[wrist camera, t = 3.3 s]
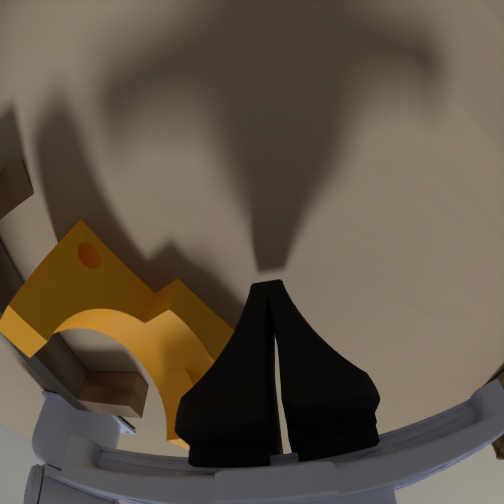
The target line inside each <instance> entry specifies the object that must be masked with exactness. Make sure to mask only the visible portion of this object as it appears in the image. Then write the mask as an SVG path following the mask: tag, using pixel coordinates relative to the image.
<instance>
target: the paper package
mask: <svg viewBox="0 0 504 504" xmlns="http://www.w3.org/2000/svg"><path fill="white" fill-rule="evenodd" d="M495 379H498V380H499V382H500V384H501V386H502V388H503V390H504V370H503V371H502V372H501V373H500V374H499V375H498V376H497V377H496V378H495ZM495 379H494V380H495ZM492 381H493V380H492ZM491 444H492V446H493V448H494V451H495V453H496V458H497V459H499V460H504V434H502V435H501V436H500V437H498V438H497V439H496V440H495V441H493V442H492V443H491Z"/></svg>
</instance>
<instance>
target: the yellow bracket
mask: <svg viewBox="0 0 504 504" xmlns="http://www.w3.org/2000/svg"><path fill="white" fill-rule="evenodd" d="M71 328H85V329H91V330H95V331H98V332H101V333H103V334H106V335H108V336H110V337H112V338H114V339H115V340H117V341H118V342H120V343H121V344H122V345H124V346H125V347H126V348H127V349H129V350H130V351H131V352H132V353H133V354H134V355H135V356H136V357H137V358H138V359H139V361H140V362H141V363H142V364H143V366H144V367H145V368H146V370H147V371H148V373H149V374H150V376H151V377H152V379H153V381H154V383H155V385H156V387H157V389H158V391H159V394H160V396H161V399H162V402H163V406H164V410H165V415H166V422H167V439H166V441H168V442H171V443H173V444H175V445H178V446H180V447H183V448H186V449H188V450H189V447H190V446H189V445H188V444H187V443H185V442H184V441H183V440H182V439H181V438H180V437H179V436H178V435H177V434H176V433H175V429H174V428H175V420H176V413H177V409H178V406H179V402H180V399H181V397H182V396H183V395H184V394H185V393H187V392H188V391H189V390H190V389H191V388H192V387H193V386H194V385H195V384H196V383H197V382H198V381H199V380H200V379H201V378H202V376H203V375H204V374H205V373H206V372H207V371H208V369H209V368H210V367H211V366H212V365H213V363H214V362H215V361H216V359H217V358H218V356H219V355H220V354H221V352H222V351H223V349H224V348H225V346H226V344H227V343H228V341H229V339H230V338H231V336H232V334H233V332H234V329H233V328H232V327H230V326H229V325H228V324H227V323H226V322H225V321H224V320H223V319H221V318H220V317H219V316H218V315H217V314H216V313H215V312H214V311H213V310H211V309H210V308H209V307H208V306H207V305H206V304H205V303H204V302H203V301H202V300H201V299H200V298H198V297H197V296H196V295H195V294H194V293H193V292H192V291H191V290H190V289H189V288H188V287H187V286H186V285H185V284H184V283H183V282H182V281H181V280H180V279H176V280H174V281H173V282H171V283H170V284H168V285H167V286H165V287H164V288H162V289H161V290H159V291H158V292H156V293H155V292H154V291H153V290H152V289H150V288H149V287H148V286H147V285H146V284H145V283H144V282H143V281H142V280H141V279H140V278H139V277H138V276H137V275H136V274H134V273H133V272H132V271H131V270H130V269H129V268H128V267H127V266H126V265H125V264H124V263H123V262H122V261H121V260H120V259H119V258H118V257H117V256H116V255H115V254H114V253H113V252H112V251H111V250H110V249H109V248H108V247H107V246H106V245H105V244H104V243H103V242H102V241H101V240H100V239H99V238H98V236H97V235H96V234H95V233H94V232H93V231H92V230H91V229H90V228H89V227H88V226H87V225H86V224H85V223H84V221H83V220H82V219H81V220H80V221H79V222H78V223H77V224H76V225H75V226H74V227H73V228H72V229H71V230H70V231H69V232H68V233H67V234H66V235H65V236H64V237H63V238H62V239H61V241H60V242H59V243H58V244H57V245H56V246H55V247H54V248H53V249H52V251H51V252H50V253H49V254H48V255H47V256H46V257H45V259H44V260H43V261H42V262H41V263H40V265H39V266H38V267H37V268H36V269H35V271H34V272H33V273H32V274H31V276H30V277H29V278H28V279H27V281H26V282H25V283H24V284H23V286H22V287H21V288H20V290H19V291H18V292H17V294H16V295H15V296H14V298H13V299H12V300H11V302H10V303H9V305H8V306H7V308H6V310H5V312H4V314H3V316H2V318H1V320H0V332H1V333H2V334H3V335H4V336H5V337H6V338H7V339H9V340H10V341H11V342H12V343H13V344H14V345H15V346H16V347H17V348H19V349H20V350H21V351H22V352H23V353H24V354H26V355H27V356H28V357H29V358H30V357H32V356H33V355H34V354H35V353H36V352H37V351H38V350H39V349H40V348H41V347H43V346H44V345H45V344H46V343H47V342H48V341H49V339H50V337H51V336H52V334H54V333H56V332H59V331H62V330H65V329H71Z"/></svg>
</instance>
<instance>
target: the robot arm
mask: <svg viewBox="0 0 504 504" xmlns="http://www.w3.org/2000/svg"><path fill="white" fill-rule="evenodd" d="M275 337H276V341H277V346H278V356H279V368H280V382H281V398H282V404H283V408H284V413H285V418H286V422H287V429H288V439H289V442H290V447H291V451H292V453H289V454H283V448H282V439H281V430H280V421H279V412H278V403H277V393H276V384H275ZM42 395H43V396H44V397H46V399H45V402H44V404H43V407H42V410H41V413H40V415H39V418H38V421H37V424H36V427H35V430H34V433H33V437H32V445H33V450H34V453H35V455H36V456H37V458H38V459H39V460H40V461H41V462H42V463H43V465H42V466H41V465H39V464H37V465H34V466H32V467H31V469H30V472H29V476H28V480H27V485H26V489H25V495H24V504H120V503H119V501H118V500H121V501H125V502H129V503H133V504H397V503H396V499H395V493H394V491H395V490H398V489H401V488H403V487H406V486H408V485H411V484H414V483H416V482H418V481H421V480H423V479H425V478H428V477H430V476H432V475H434V474H436V473H438V472H440V471H442V470H445V469H446V468H449V467H451V466H452V465H454V464H456V463H458V462H460V461H461V460H464V459H465V458H467V457H469V456H471V455H472V454H474V453H476V452H478V451H479V450H481V449H482V448H484V447H486V446H487V445H489V444H491V443H492V442H493V441H495V440H496V439H497V438H498V437H500V436H501V435H502V434H504V390H503V388H502V386H501V384H500V382H499V380H498V379H495V380H493V381H491V382H490V383H488V384H486V385H484V386H482V387H481V388H479V389H478V390H477V391H475V392H474V393H473V395H472V396H471V397H470V399H469V400H467V401H465V402H463V403H461V404H459V405H456V406H454V407H452V408H450V409H448V410H446V411H443V412H441V413H439V414H436V415H434V416H431V417H429V418H426V419H424V420H421V421H419V422H416V423H413V424H411V425H408V426H405V427H402V428H399V429H396V430H393V431H390V432H387V433H383V434H380V435H378V432H377V428H376V423H377V420H376V416H375V411H376V409H377V407H378V405H379V403H380V396H379V393H378V391H377V389H376V387H375V385H374V383H373V381H372V380H371V378H370V377H369V375H368V374H367V373H366V372H364V371H363V370H361V369H359V368H358V367H356V366H355V365H353V364H352V363H351V362H349V361H348V360H346V359H345V358H344V357H342V356H341V355H340V354H339V353H338V352H336V351H335V350H334V349H333V348H332V347H331V346H329V345H328V344H327V343H326V342H325V341H324V340H323V339H322V338H321V337H320V336H319V335H318V334H317V333H316V332H315V331H314V330H313V328H312V327H311V326H310V325H309V324H308V323H307V321H306V320H305V319H304V317H303V316H302V315H301V313H300V312H299V311H298V309H297V308H296V306H295V305H294V303H293V302H292V300H291V298H290V297H289V295H288V293H287V291H286V289H285V287H284V284H283V281H282V280H280V279H278V280H272V281H266V282H259V283H253V284H252V285H251V287H250V292H249V296H248V299H247V302H246V305H245V307H244V310H243V312H242V315H241V317H240V320H239V322H238V324H237V326H236V328H235V330H234V332H233V334H232V336H231V338H230V339H229V341H228V343H227V344H226V346H225V348H224V349H223V351H222V352H221V354H220V355H219V356H218V358H217V359H216V361H215V362H214V363H213V365H212V366H211V367H210V368H209V369H208V371H207V372H206V373H205V374H204V375H203V376H202V378H201V379H200V380H199V381H198V382H197V383H196V384H195V385H194V386H193V387H192V388H191V389H190V390H189V391H188V392H187V393H185V394H184V395H183V396H182V397H181V399H180V402H179V406H178V409H177V413H176V420H175V428H174V429H175V433H176V434H177V435H178V436H179V437H180V438H181V439H182V440H183V441H184V442H185V443H187V444H188V445H189V446H190V447H189V457H174V456H163V455H153V454H145V453H137V452H131V451H124V450H119V449H117V444H118V440H119V435H120V433H127V434H135V433H136V431H135V430H134V429H133V428H131V427H130V426H129V425H128V424H127V423H125V422H124V421H123V420H122V419H121V418H119V417H118V416H116V415H108V414H101V413H94V412H88V411H82V410H77V409H75V408H74V407H72V406H71V405H70V404H69V403H68V402H67V401H66V400H64V399H63V398H62V397H61V396H60V395H59V394H57V393H52V392H47V391H42ZM353 460H354V461H353Z"/></svg>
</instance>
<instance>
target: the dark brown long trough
mask: <svg viewBox="0 0 504 504" xmlns="http://www.w3.org/2000/svg"><path fill="white" fill-rule="evenodd" d="M33 194H34V193H33V191H32V188H31V185H30V183H29V180H28V177H27V174H26V171H25V168H24V165H23V162H22V159H21V160H19V161H17V162H15V163H13V164H12V165H10V166H8V167H6V168H4V169H3V170H1V171H0V219H2V218H3V217H4V216H5V215H6V214H8V213H9V212H10V211H11V210H13V209H14V208H15V207H17V206H18V205H19V204H21V203H22V202H23V201H25V200H26V199H27V198H29V197H30V196H31V195H33ZM23 284H24V283H23V281H22V280H21V278H20V276H19V275H18V273H17V271H16V269H15V268H14V266H13V264H12V262H11V260H10V258H9V256H8V255H7V253H6V251H5V249H4V247H3V245H2V243H1V241H0V320H1V318H2V316H3V314H4V312H5V310H6V308H7V306H8V305H9V303H10V302H11V300H12V299H13V298H14V296H15V295H16V294H17V292H18V291H19V290H20V288H21V287H22V286H23ZM8 340H9V339H8ZM9 342H10V343H11V344H12V345H13V346H14V348H15V349H16V350H17V351H18V352H19V354H20V355H21V356H22V357H23V358H24V359H25V360H26V361H27V363H28V364H29V365H30V366H31V367H32V368H33V369H34V370H35V371H36V372H37V373H38V374H39V375H40V376H41V377H42V378H43V379H44V381H45V382H46V383H48V384H49V385H50V386H51V387H52V388H53V389H54V390H55V391H56V392H57V393H58V394H59V395H60V396H61V397H62V398H63V399H64V400H66V401H67V402H68V403H69V404H70V405H71V406H72V407H74V408H75V409H77V410H82V411H88V412H94V413H101V414H108V415H116V416H125V417H136V418H142V415H143V410H144V405H145V400H146V396H147V391H148V387H149V386H148V385H147V384H146V383H145V381H144V380H143V379H142V378H141V377H140V375H139V374H138V373H122V372H97V371H88V370H87V369H86V367H85V366H84V365H83V364H82V363H81V362H80V361H79V359H78V358H77V357H76V356H75V355H74V353H73V352H72V351H71V350H70V349H69V347H68V346H67V345H66V344H65V342H64V341H63V340H62V338H61V337H60V336H59V335H58V333H57V332H56V333H54V334H52V336H51V337H50V339H49V341H48V342H47V343H46V344H45V345H44V346H43V347H41V348H40V349H39V350H38V351H37V352H36V353H35V354H34V355H33V356H32V357H30V358H29V357H28V356H27V355H26V354H24V353H23V352H22V351H21V350H20V349H19V348H17V347H16V346H15V345H14V344H13V343H12V342H11V341H10V340H9Z"/></svg>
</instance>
